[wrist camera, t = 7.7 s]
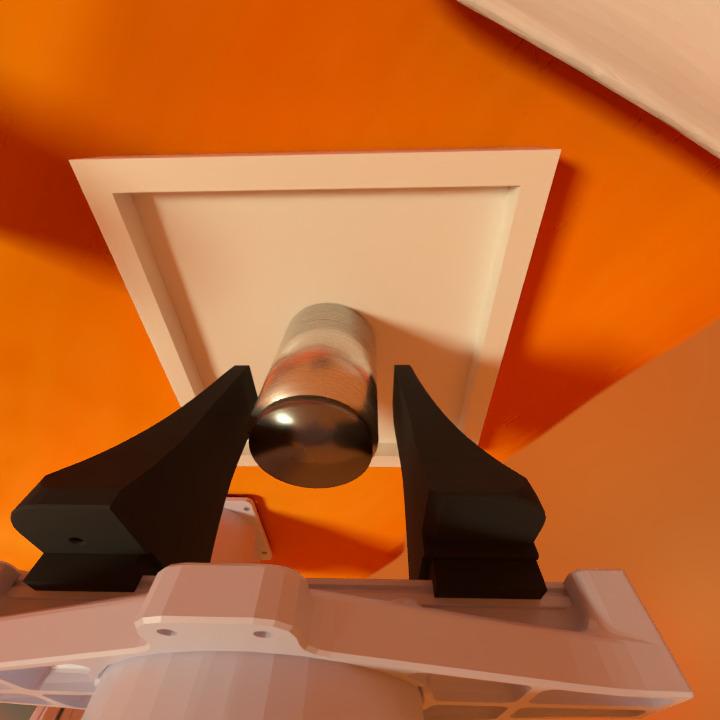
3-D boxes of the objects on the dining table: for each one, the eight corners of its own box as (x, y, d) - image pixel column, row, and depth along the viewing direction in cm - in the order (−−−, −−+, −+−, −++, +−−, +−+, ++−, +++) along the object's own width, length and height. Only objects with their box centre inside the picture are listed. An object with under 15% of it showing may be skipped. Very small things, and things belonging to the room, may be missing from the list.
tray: (463, 441, 21) (471, 467, 20) (219, 440, 22) (207, 465, 20) (535, 146, 12) (561, 149, 10) (107, 155, 12) (68, 159, 11)
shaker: (375, 379, 17) (378, 492, 12) (291, 379, 17) (257, 490, 12) (376, 302, 15) (380, 401, 9) (278, 303, 15) (226, 401, 9)
